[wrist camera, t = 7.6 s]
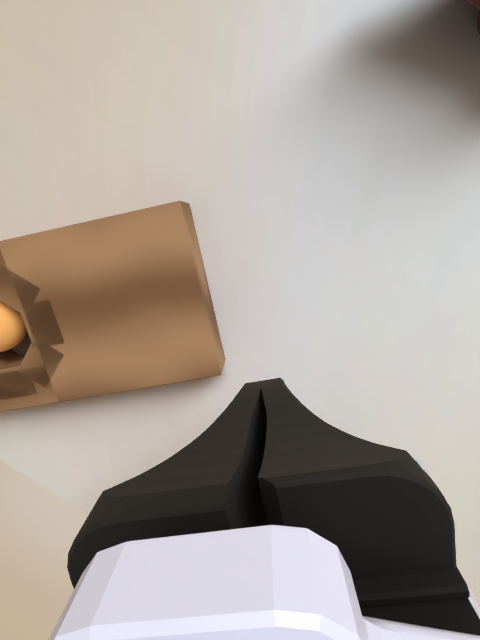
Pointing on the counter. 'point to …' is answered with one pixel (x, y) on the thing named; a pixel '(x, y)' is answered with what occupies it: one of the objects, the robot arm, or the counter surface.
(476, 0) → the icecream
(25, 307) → the board
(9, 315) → the ball
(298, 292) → the counter surface
